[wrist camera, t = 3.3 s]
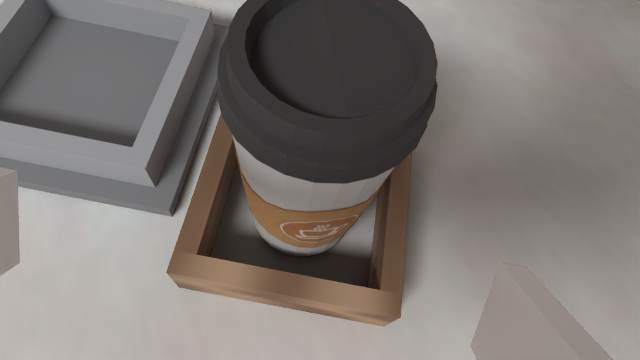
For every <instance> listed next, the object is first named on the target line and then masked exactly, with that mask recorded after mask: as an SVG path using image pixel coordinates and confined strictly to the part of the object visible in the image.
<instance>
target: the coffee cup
mask: <svg viewBox="0 0 640 360" xmlns="http://www.w3.org/2000/svg"><path fill="white" fill-rule="evenodd" d="M436 70H437V58H436V54H435V49H434V44H433V41H432V39H431V38H430V36H429V34H428V32H427V30H426V28H425V27H424V25H423V23H422V22H421V21H420V20H419V19H418V18H417V17H416V16H415V15H414V13H413V12H412V11H411V10H410V9H409V8H408V7H407V6H405V5H404V4H403V3H401V2H400V1H398V0H247V1H246V2H245V3H244V4H243V5H242V6H241V7H240V8H239V9H238V10H237V12H236V15H235V17H234V19H233V21H232V23H231V25H230V27H229V30H228V34H227V36H226V38H225V41H224V43H223V45H222V47H221V49H220V53H219V62H218V71H217V79H218V88H217V97H218V101H219V106H220V110H221V114H222V118H223V120H224V121H225V123H226V125H227V126H228V128H229V130H230V131H231V133H232V135H233V139H234V143H235V147H236V158H237V162H238V166H239V170H240V174H241V178H242V182H243V186H244V189H245V193H246V197H247V201H248V204H249V208H250V210H251V212H252V215H253V219H254V223H255V226H256V228H257V230H258V232H259V233H260V235H261V237H262V238H263V239H264V240H265V241H266V242H267V243H268V244H269V245H270V246H272V247H273V248H275V249H277V250H279V251H280V252H282V253H286V254H289V255H293V256H311V255H315V254H319V253H322V252H324V251H326V250H328V249H330V248H331V247H333V246H334V245H335V244H336V243H337V242H338V241H339V240H340V239H341V238H342V237H343V235H344V234H345V233H346V232H347V231H348V229H349V228H350V227H351V226H352V225H353V224H354V223H355V222H356V221H357V219H358V218H359V217H360V215H361V214H362V213H363V212H364V210H365V209H366V208H367V206H368V205H369V204H370V202H371V201H372V200H373V199H374V197H375V196H376V195H377V193H378V192H379V190H380V188H381V186H382V184H383V183H384V181H385V179H386V178H387V177H388V175H389V174H390V173H391V171H392V170H393V169H394V167H395V166H397V165H399V164H400V163H401V162H402V161H403V160H404V159H405V158H406V157H407V156H408V155H409V154H410V153H411V152H412V151H413V150H414V149H415V148H416V147H417V145H418V143H419V141H420V139H421V137H422V135H423V133H424V131H425V129H426V127H427V122H428V120H429V118H430V116H431V114H432V112H433V109H434V106H435V98H436V91H437V82H436Z"/></svg>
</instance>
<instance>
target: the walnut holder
mask: <svg viewBox="0 0 640 360" xmlns="http://www.w3.org/2000/svg"><path fill="white" fill-rule="evenodd" d="M411 157H412V152H411V153H410V154H409V155H408V156H407V157H406V158H405V159H404V160H403V161H402V162H401V163H400V164H399V165H397V166H395V167H394V169H393V170H392V171H391V173H390V174H389V175H388V177H387V178H386V179H385V181H384V183H383V184H382V186H381V188H380V190H379V192H378V198H377V207H376V217H375V226H374V235H373V245H372V254H371V263H370V273H369V282H368V288H367V287H361V286H356V285H351V284H346V283H341V282H336V281H330V280H325V279H320V278H315V277H310V276H305V275H299V274H294V273H289V272H284V271H279V270H274V269H269V268H263V267H258V266H253V265H248V264H243V263H238V262H232V261H227V260H222V259H217V258H212V257H209V256H210V253H211V250H212V246H213V243H214V240H215V236H216V233H217V230H218V226H219V223H220V220H221V216H222V213H223V210H224V206H225V203H226V199H227V196H228V193H229V189H230V186H231V183H232V179H233V176H234V173H235V169H236V166H237V163H238V162H237V158H236V147H235V143H234V139H233V135H232V133H231V131H230V130H229V128H228V126H227V125H226V123H225V121H224V120H223V118H222V114H221V115H220V118H219V121H218V124H217V126H216V129H215V132H214V135H213V138H212V141H211V144H210V147H209V150H208V153H207V156H206V158H205V161H204V164H203V167H202V170H201V173H200V176H199V179H198V182H197V185H196V188H195V191H194V193H193V196H192V199H191V202H190V205H189V208H188V211H187V214H186V217H185V220H184V223H183V225H182V228H181V231H180V234H179V237H178V240H177V243H176V246H175V249H174V252H173V255H172V257H171V260H170V263H169V266H168V269H167V274H168V275H169V276H170V277H171V278H172V279H173V281H174V282H175V283H176V284H177V285H178V287H181V288H186V289H191V290H196V291H202V292H207V293H212V294H217V295H223V296H228V297H233V298H238V299H244V300H249V301H254V302H259V303H264V304H270V305H275V306H280V307H285V308H291V309H296V310H301V311H306V312H311V313H317V314H322V315H327V316H332V317H338V318H343V319H348V320H353V321H359V322H364V323H369V324H374V325H379V326H385V325H387V324H389V323H391V322H393V321H395V320H396V319H398V318H400V317H401V304H402V290H403V275H404V260H405V246H406V231H407V216H408V201H409V187H410V172H411Z"/></svg>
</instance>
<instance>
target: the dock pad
mask: <svg viewBox="0 0 640 360" xmlns="http://www.w3.org/2000/svg"><path fill="white" fill-rule="evenodd" d="M228 30H229V27H225V26H220V25H216V24H213V20H212V13H211V11H210V10H205V9H200V8H196V7H191V6H186V5H181V4H177V3H172V2H167V1H163V0H4V2H3V3H2V4H1V6H0V167H1V168H6V169H12V170H17V171H18V186H20V187H25V188H30V189H35V190H40V191H45V192H50V193H55V194H60V195H65V196H71V197H76V198H81V199H86V200H91V201H96V202H101V203H106V204H111V205H116V206H121V207H127V208H132V209H137V210H142V211H147V212H152V213H157V214H162V215H167V216H173V213H174V210H175V207H176V205H177V202H178V199H179V196H180V194H181V191H182V188H183V185H184V182H185V180H186V177H187V174H188V171H189V169H190V166H191V163H192V160H193V157H194V155H195V152H196V149H197V146H198V144H199V141H200V138H201V135H202V132H203V130H204V127H205V124H206V121H207V119H208V116H209V113H210V110H211V107H212V105H213V102H214V99H215V96H216V94H217V88H218V79H217V71H218V62H219V53H220V49H221V47H222V45H223V43H224V41H225V38H226V36H227V34H228Z"/></svg>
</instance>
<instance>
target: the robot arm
mask: <svg viewBox="0 0 640 360" xmlns="http://www.w3.org/2000/svg"><path fill="white" fill-rule="evenodd" d="M19 263H20V258H19V213H18V171H17V170H12V169H6V168H1V167H0V276H1V275H2V274H4V273H5V272H7V271H8V270H10V269H11V268H13V267H14V266H16V265H17V264H19ZM470 346H471V348H472V350H473V352H474V354H475V356H476V358H477V360H613V359H612V358H611V357H610V356H609V355H608V354H607V353H606V352H605V351H604V350H603V349H602V348H601V346H600V345H599V344H598V343H597V342H596V341H595V340H594V339H593V338H592V337H591V336H590V335H589V334H588V332H587V331H586V330H585V329H584V328H583V327H582V326H581V325H580V324H579V323H578V322H577V321H576V320H575V318H574V317H573V316H572V315H571V314H570V313H569V312H568V311H567V310H566V309H565V308H564V307H563V306H562V304H561V303H560V302H559V301H558V300H557V299H556V298H555V297H554V296H553V295H552V294H551V293H550V292H549V290H548V289H547V288H546V287H545V286H544V285H543V284H542V283H541V282H540V281H539V280H538V279H537V278H536V276H535V275H534V274H533V273H532V272H531V271H530V270H529V269H528V268H526V267H521V266H515V265H510V264H505V263H500V266H499V268H498V271H497V274H496V276H495V279H494V282H493V285H492V287H491V290H490V293H489V296H488V298H487V301H486V304H485V307H484V309H483V312H482V315H481V318H480V320H479V323H478V326H477V328H476V331H475V334H474V337H473V339H472V342H471V345H470Z"/></svg>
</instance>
